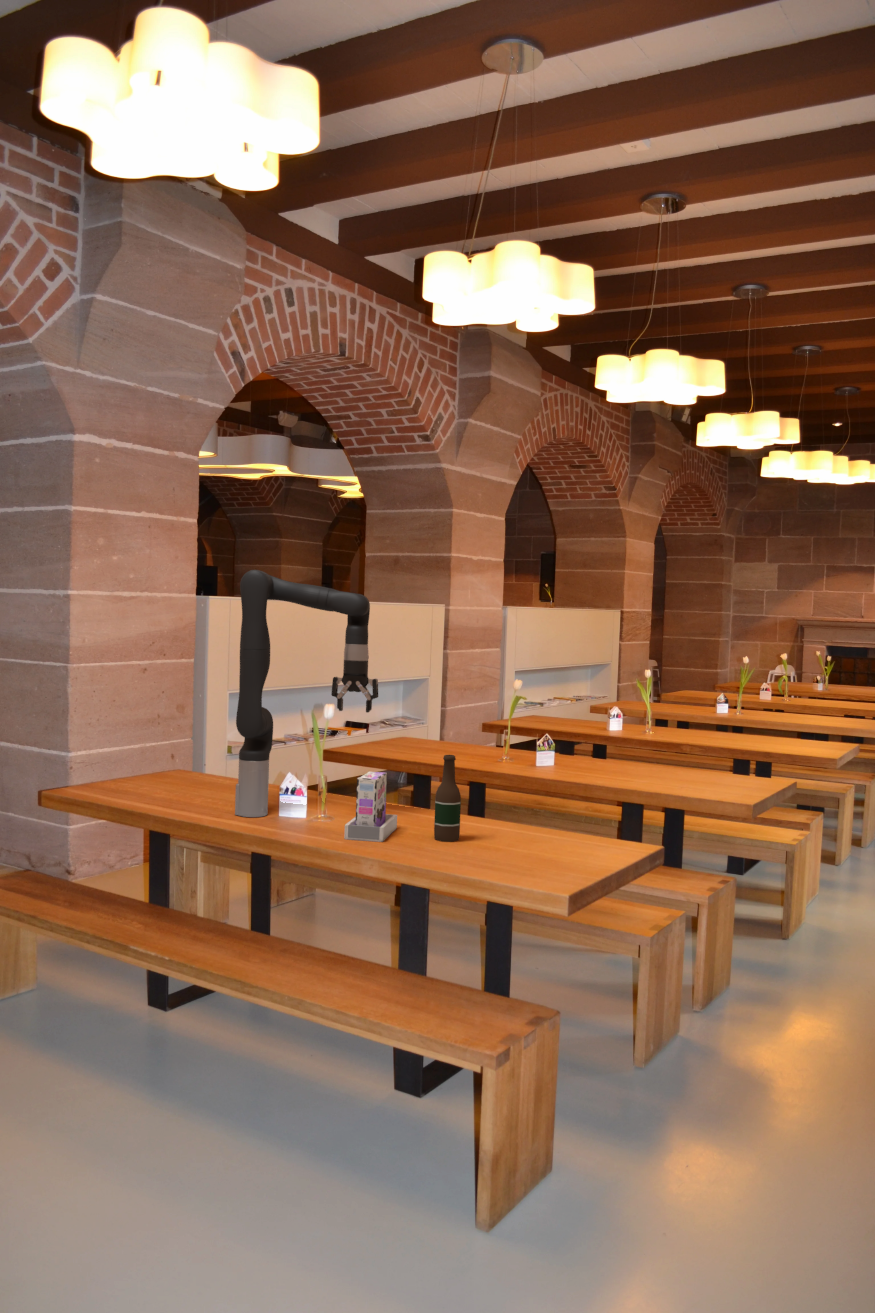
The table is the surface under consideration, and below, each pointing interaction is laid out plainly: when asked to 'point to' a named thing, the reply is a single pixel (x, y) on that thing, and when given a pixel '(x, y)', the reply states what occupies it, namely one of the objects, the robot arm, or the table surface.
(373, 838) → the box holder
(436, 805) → the beer bottle
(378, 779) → the candy box
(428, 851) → the table surface
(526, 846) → the table surface
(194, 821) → the table surface
